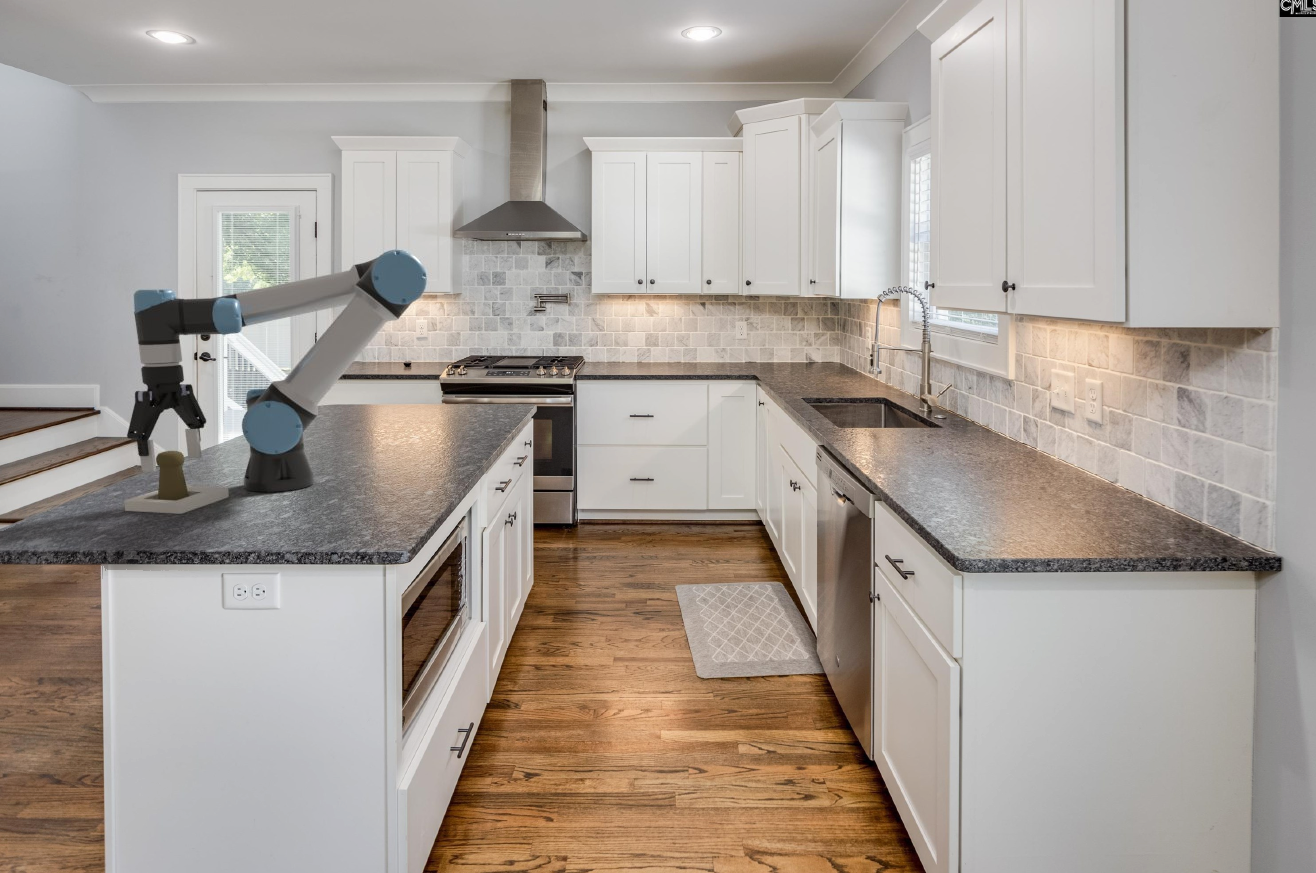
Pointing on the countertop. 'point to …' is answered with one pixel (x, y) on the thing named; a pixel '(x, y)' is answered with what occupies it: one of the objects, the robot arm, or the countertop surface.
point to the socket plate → (195, 500)
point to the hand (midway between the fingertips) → (172, 464)
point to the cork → (171, 476)
